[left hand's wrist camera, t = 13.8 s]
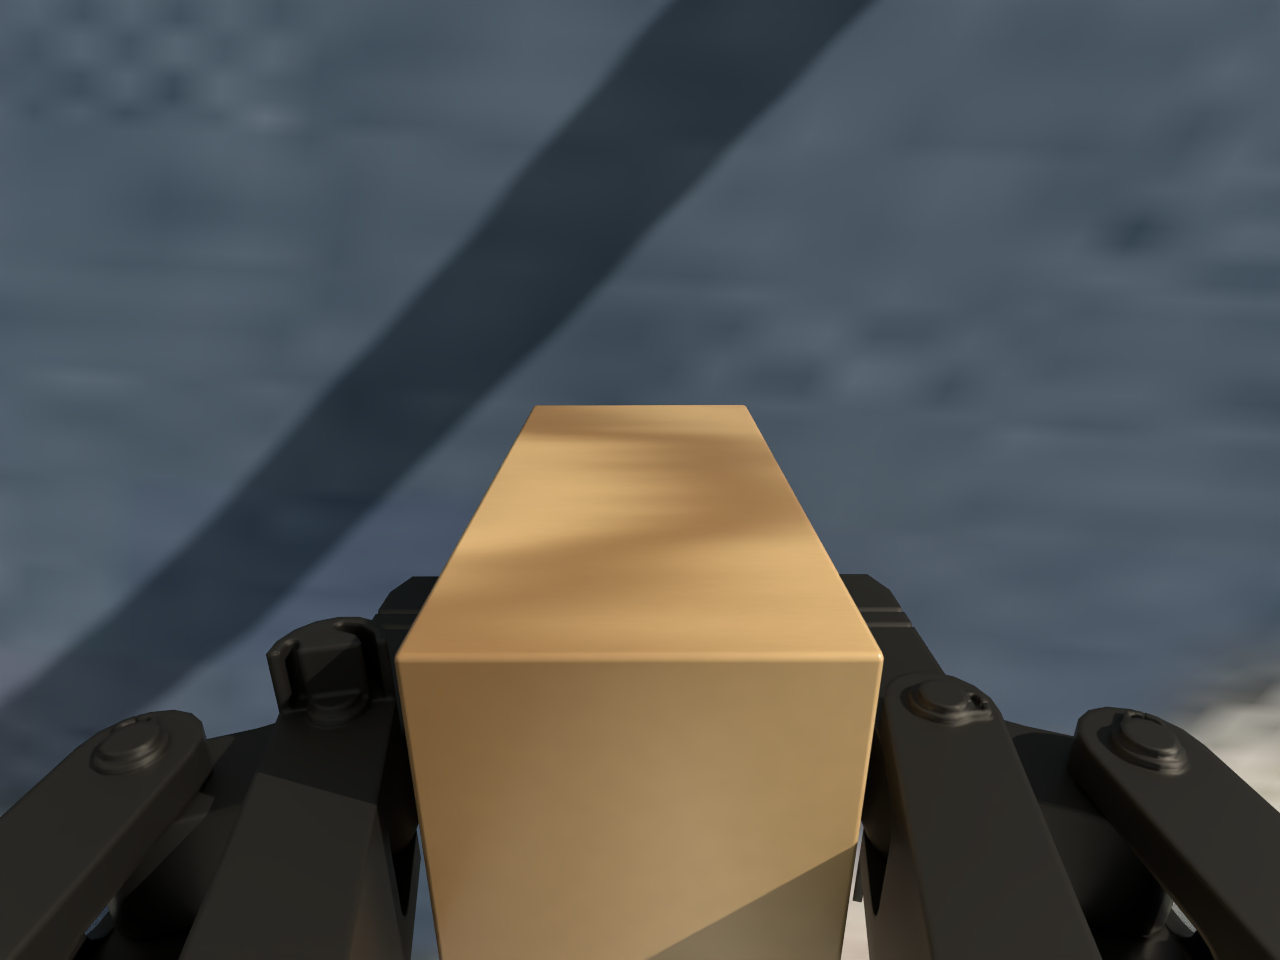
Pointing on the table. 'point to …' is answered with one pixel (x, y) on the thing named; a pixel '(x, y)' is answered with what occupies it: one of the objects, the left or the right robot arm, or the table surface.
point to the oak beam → (639, 702)
